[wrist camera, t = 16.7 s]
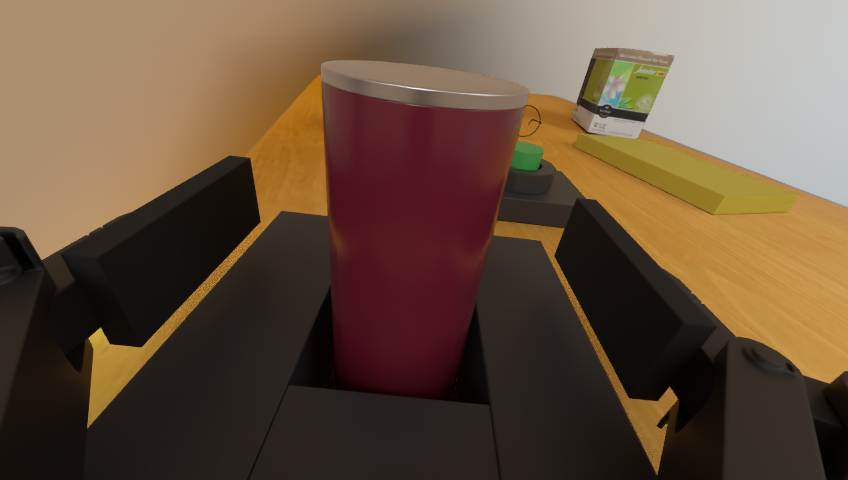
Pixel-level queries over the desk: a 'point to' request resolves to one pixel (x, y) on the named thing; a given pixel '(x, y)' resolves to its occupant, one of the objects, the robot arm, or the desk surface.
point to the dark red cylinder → (411, 215)
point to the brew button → (526, 156)
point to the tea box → (620, 91)
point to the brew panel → (538, 196)
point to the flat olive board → (688, 176)
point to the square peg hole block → (358, 411)
